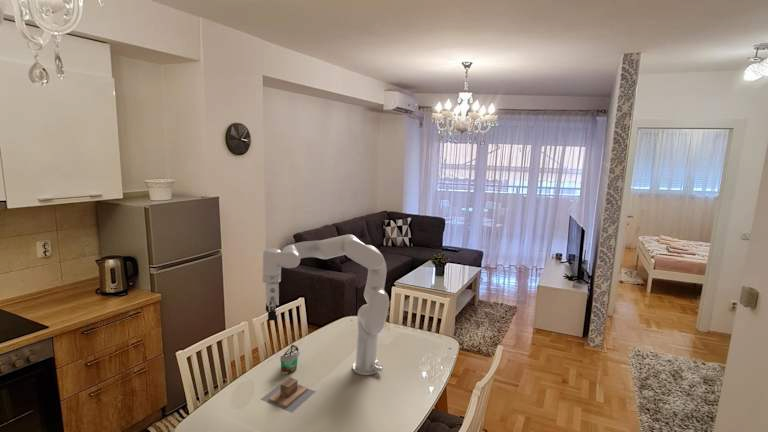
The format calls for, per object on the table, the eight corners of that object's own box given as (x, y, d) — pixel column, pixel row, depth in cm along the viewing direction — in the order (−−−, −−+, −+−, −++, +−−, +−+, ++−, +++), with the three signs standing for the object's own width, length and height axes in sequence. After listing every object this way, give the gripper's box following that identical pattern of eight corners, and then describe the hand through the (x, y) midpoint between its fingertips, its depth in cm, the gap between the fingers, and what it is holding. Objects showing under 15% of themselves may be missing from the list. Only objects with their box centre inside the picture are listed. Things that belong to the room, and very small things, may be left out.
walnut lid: (307, 390, 173) (308, 377, 172) (286, 408, 161) (286, 394, 160) (290, 383, 177) (291, 370, 176) (268, 400, 165) (269, 387, 164)
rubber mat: (315, 392, 173) (315, 391, 173) (291, 413, 159) (292, 412, 159) (285, 381, 180) (285, 380, 179) (260, 400, 165) (260, 399, 165)
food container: (292, 379, 181) (293, 358, 180) (279, 376, 183) (280, 356, 181) (303, 365, 193) (304, 345, 192) (291, 363, 194) (291, 343, 193)
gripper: (283, 284, 166) (282, 323, 169) (278, 270, 182) (277, 306, 185) (264, 285, 164) (263, 324, 167) (261, 271, 179) (260, 308, 182)
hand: (270, 315), depth 176 cm, fingers open, 9 cm apart
